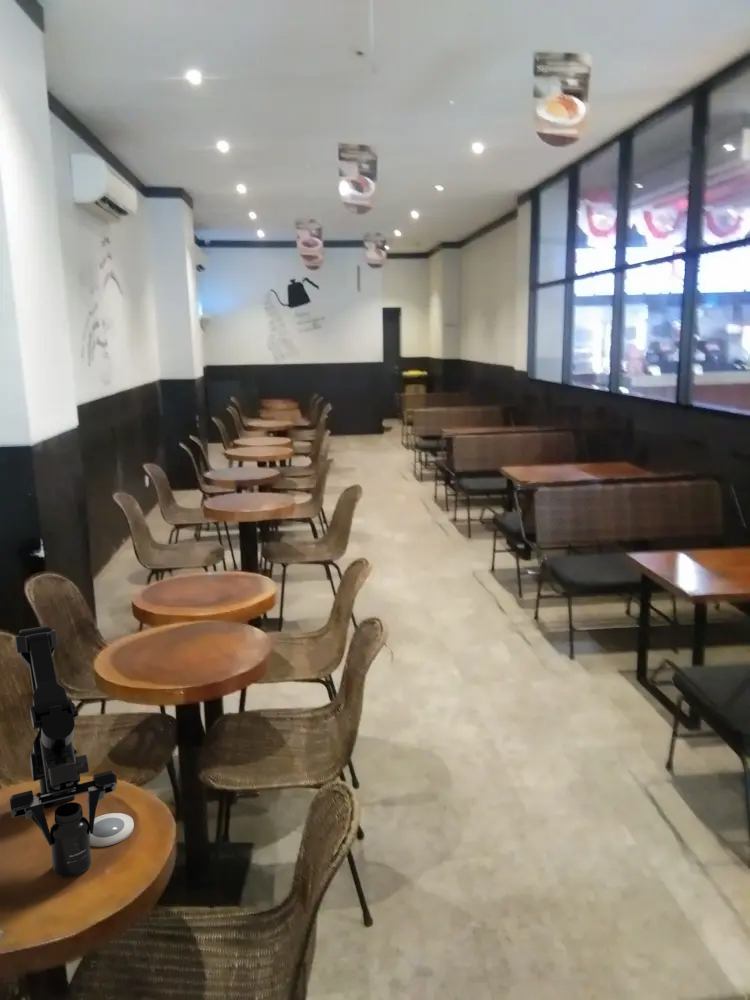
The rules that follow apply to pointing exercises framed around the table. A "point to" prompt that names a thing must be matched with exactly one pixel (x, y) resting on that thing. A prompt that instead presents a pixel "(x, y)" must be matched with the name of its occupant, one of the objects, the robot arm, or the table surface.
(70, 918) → the table surface
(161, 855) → the table surface
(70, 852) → the supplement bottle
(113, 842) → the coaster
